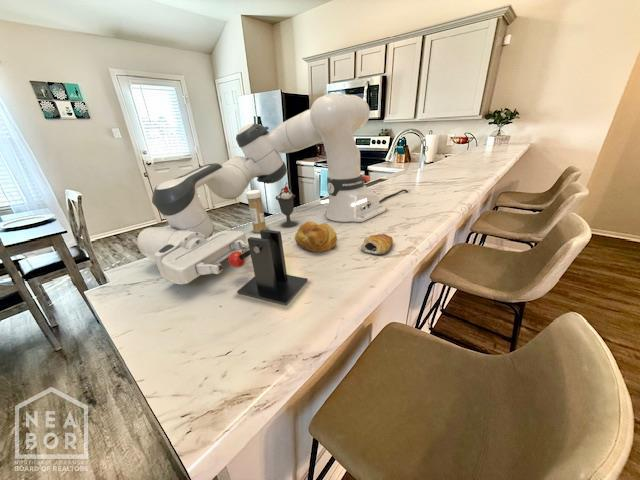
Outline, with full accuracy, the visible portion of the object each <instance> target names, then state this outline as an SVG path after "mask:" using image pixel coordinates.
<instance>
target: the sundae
mask: <svg viewBox="0 0 640 480" xmlns="http://www.w3.org/2000/svg"><path fill="white" fill-rule="evenodd" d="M287 185H288V182H286V181H285V186H284V187H283V188H281V189H280V192H279V194H278V195H276V196H275V200H276V201H278V204H279V208H280V211H281V213H282V214H283V215H284V216H285V217H286V221H285V222H283V223H282V224H281V226H282V227H284V228H292V227H295V226H296V225H297V223H296V222H295V221H292V220H291V215H292V213H293V212H294V200H295V198H296V195H295V194H294V193H292V192H291V189H290V188H289V187H288V186H287Z"/></svg>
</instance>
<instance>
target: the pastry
mask: <svg viewBox="0 0 640 480" xmlns="http://www.w3.org/2000/svg"><path fill="white" fill-rule="evenodd" d="M393 243H394V240H393V237H392V236H391V235H388V234H386V233H381V234H380V233H379V234H371V235H369V236H368V237H365V239H364V240H363V242H362V243H361V245H360V248H361V250H362V252H364V253H367V254H373V255H383V254H386V253H387V252H389V251H390V249H391V248H392V246H393Z"/></svg>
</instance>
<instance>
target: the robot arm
mask: <svg viewBox="0 0 640 480" xmlns="http://www.w3.org/2000/svg"><path fill="white" fill-rule="evenodd" d="M370 114H371V112H370V106H369V104H368V103H367V101H366V100H365V99H364V98H362V97H360V96H358V95H355V94H347V93H346V94H345V93H328V94H325V95H322V96H320V97H318V98H316V99H315V100H314V101H313V103H312V105H311V107H310V108H309V109H306V110H304V111H302V112H300V113H298V114H296V115H294V116H292V117H290V118H288V119H286V120H285V121H283V122H281V124H278V126H277V127H275V128H274V129H273V130H271V131H269V128H270V127H269V126H268V125H267V126H264V125H262V124H259V123H249V124H246V125H244V126H243V127H241V129H240V130H239V131H238V133H237V134H236V137H235V140H236V143H237V145H238V147H239V148H240V149H241V151H242V153H243V154H244V155H243V156H242V155H241V156H240V155H238V156H234V157H232V158H230V159H228V160H226V161H225V162H224V163H222V165H221V164H220V163H219V162H218V163H216V162H214V163H208V164H204V165H201V166H199V167H197V168H194V169H192V170H190V171H188V172H186V173H184V174H182V175H180V176H178V177H175V178H172V179H169V180H165V181H163V182H161V183H159V184H158V185H156V186H155V187H154V190H153V193H152V196H151V203H152V204H153V205H154V207H155V208H156V209H157V211H159V213H160V214H161V215H162V216H163V218H164V219H165V221H166V222H167V223H168V224H167V225H165V226H162V227H161V226H153V227H152V226H151V227H146V228H143V229H142V230H141V231H140V232H139V234H138V235H137V238H136V245H137V248H138V250H139V252H140V253H141V254H142V255H143V256H144V257H146V258H148V259H150V260H153V261H155V263H156V267H157V268H158V272H159V274H160V275H161V278H162V279H163V280H166V281H168V282H170V283H173V284H177V285H187V284H189V283H191V282H193V281H194V280H195V279H197V278H198V277H200V276H205V275H211V274H214V275H218V274H220V273H221V272H223V271H224V267H223V265H222V264H221V262H223V261H224V260H226V259H228V258H229V256H230V254H231V253H233V252H235V251H240V252H242V253H244V252H246V251H248V250H250V249H249V245H248V240H247V235H246V234H245V232H244V231H243V230H228V229H227V230H221V231H218V232H216V233H214V232H215V225H214V223H213V222H212V219H211V217H210V215H209V214H208V212H207V211H206V209H205V207H204V205H203V203H202V201H201V200H200V198H199V195H198V188H200V187H202V186H203V185H206V186H207V187H208V189H209V190H210V191H211V193H213V194H214V195H215V196H217V197H218V198H221V199H224V200H235V199H237V198H239V197H240V196H242V195H243V194H244V192H245V191H246V189H247V188H248V186H249V185H250V184H251V182H252V181H253V180H254V179H255V178H257V179H256V181H257V182H258V183H264V184H275V183H278V182H280V181H281V180H282V179H283V178H284V177H285V176H286V174H287V171H288V168H287V166H286V162H285V161H284V160H283V158H282V156H281V154H291V153H295V152H299V151H301V150H304V149H307V148H309V147H312V146H315V145H317V144H320V143H323V147H324V150H325V156H326V166H327V177H326V185H327V186H326V187H327V193H328V198H327V199H324V200H320V204H326V203H327V207H326V208H327V209H326V213H325V217H326V218H327V219H328V220H330V221H332V222H341V223H344V222H346V223H347V222H353V223H354V222H355V223H363V222H365V221H367V220H369V219H371V218H374V217H376V216H378V215H380V214H382V213H385V212H386V211H387V210H386V209H387V208H386V207H385V206H384V205H382V204H381V203H382V202H383V201H385V200H386V199H389V198H391V197H393V196H397V195H399V194H401V193H403V192H405V193H409V191H408V190H407V189H401V190H399V191H397V192H395V193H392V194H389V195H386V196H385V197H383V198H382V199H381V200H380V198H379V195H378V194H377V193H376V190H375V191H374V190H372V189H371V188H369V187H368V186H367V185H365V182H367V183H368V182H370V181H371V177H370V175H366V174H365V175H362V174H361V151H360V149H359V148H358V147H357V144H356V140H355V136H354V132H356V131H358V130H360V129H361V128H363V127H364V126H366V124H367V123H368V121H369V118H370ZM213 233H214V234H213Z"/></svg>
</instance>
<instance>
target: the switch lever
mask: <svg viewBox="0 0 640 480" xmlns="http://www.w3.org/2000/svg"><path fill="white" fill-rule="evenodd" d="M262 239H269V242H270V248H271V247H273V246H274V245H275V244H276V242H275V240H274V239H273V237H272V236H271V234H268V235H267V236H265V237H263V238H262ZM249 256H251V254H250V250H248V251H246V252H244V253H242V251H240V250H238V251H235V252H233V253H231V254H230V256H229V257H227V259H228V264H229V266H231V267H232V268H235V269H238V268H242V267H243V266H244V265H245V263H246V259H247V257H249Z"/></svg>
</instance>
